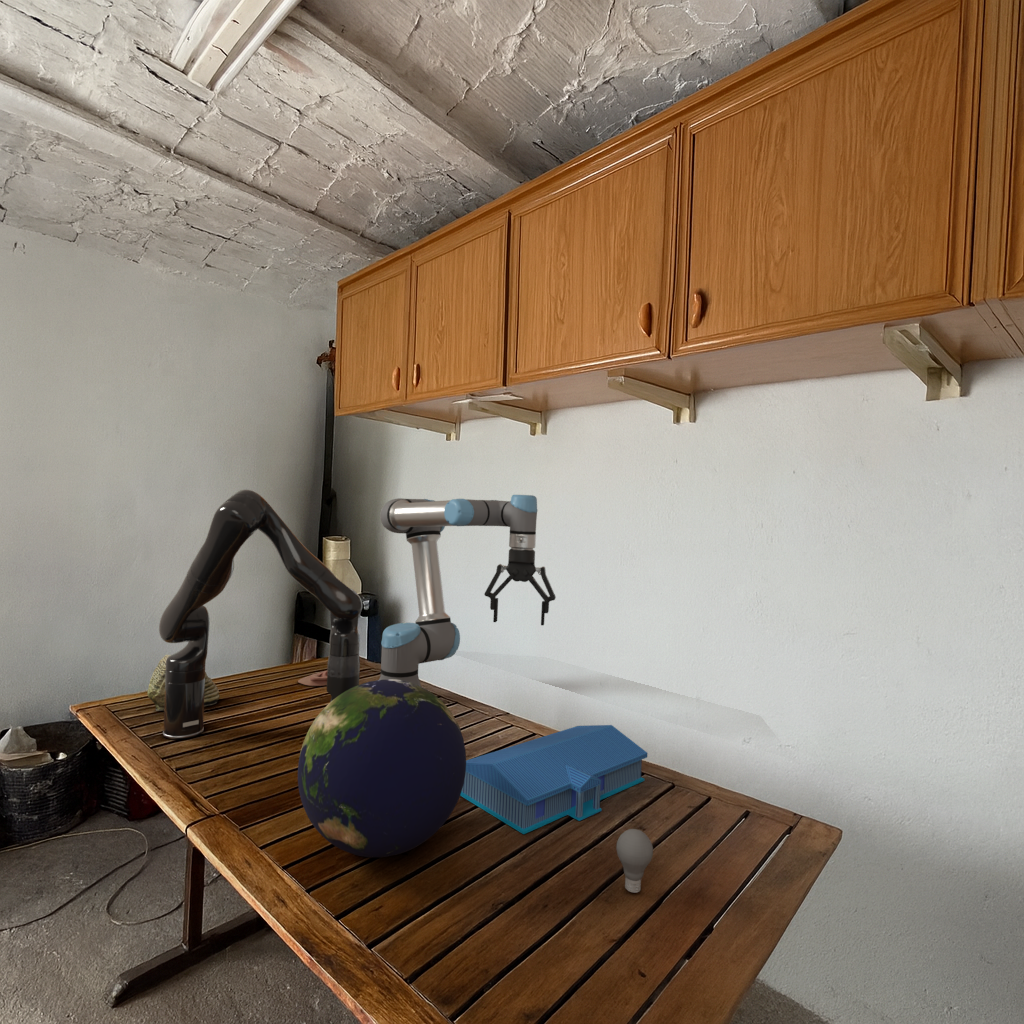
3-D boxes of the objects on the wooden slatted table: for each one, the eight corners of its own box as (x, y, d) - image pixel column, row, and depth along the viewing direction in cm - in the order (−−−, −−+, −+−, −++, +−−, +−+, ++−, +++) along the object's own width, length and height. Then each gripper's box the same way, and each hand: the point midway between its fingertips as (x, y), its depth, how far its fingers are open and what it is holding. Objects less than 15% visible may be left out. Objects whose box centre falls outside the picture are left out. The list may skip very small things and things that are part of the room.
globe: (256, 866, 108) (262, 691, 107) (361, 794, 135) (366, 654, 135) (408, 917, 96) (416, 722, 96) (488, 827, 124) (495, 675, 123)
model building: (535, 841, 120) (537, 789, 119) (456, 793, 138) (458, 747, 137) (656, 785, 146) (658, 742, 146) (576, 751, 164) (578, 712, 164)
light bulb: (610, 879, 108) (613, 822, 108) (644, 879, 109) (647, 822, 109) (619, 902, 102) (622, 840, 102) (655, 901, 103) (658, 840, 103)
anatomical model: (293, 672, 210) (311, 663, 221) (292, 684, 210) (310, 675, 221) (330, 676, 207) (346, 667, 219) (329, 688, 208) (345, 678, 219)
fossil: (144, 707, 182) (145, 655, 182) (212, 696, 194) (213, 647, 194) (151, 716, 175) (153, 662, 175) (221, 703, 188) (223, 653, 188)
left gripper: (341, 681, 145) (339, 756, 145) (371, 666, 158) (368, 734, 159) (313, 677, 147) (310, 751, 147) (344, 663, 160) (342, 730, 161)
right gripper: (476, 547, 178) (473, 622, 179) (565, 552, 175) (561, 628, 176) (481, 545, 186) (478, 617, 186) (566, 550, 183) (563, 623, 183)
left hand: (340, 742), depth 153 cm, fingers closed on canister, 3 cm apart
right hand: (518, 623), depth 181 cm, fingers open, 13 cm apart
